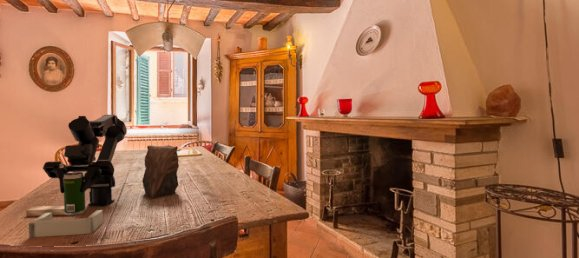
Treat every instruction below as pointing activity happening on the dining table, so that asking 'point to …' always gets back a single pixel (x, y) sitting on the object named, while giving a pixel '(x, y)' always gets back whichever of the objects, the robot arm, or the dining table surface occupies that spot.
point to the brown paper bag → (160, 171)
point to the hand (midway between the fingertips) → (72, 192)
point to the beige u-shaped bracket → (64, 225)
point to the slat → (45, 210)
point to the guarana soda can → (73, 193)
